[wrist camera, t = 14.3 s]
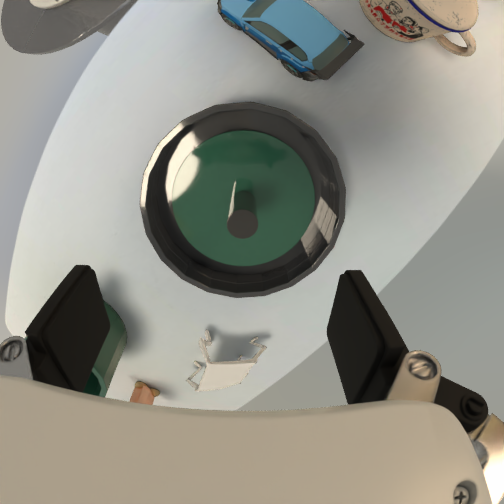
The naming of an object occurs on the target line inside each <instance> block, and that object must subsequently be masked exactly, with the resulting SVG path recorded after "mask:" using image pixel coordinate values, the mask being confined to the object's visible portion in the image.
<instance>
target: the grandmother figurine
mask: <svg viewBox="0 0 504 504" xmlns="http://www.w3.org/2000/svg"><path fill="white" fill-rule="evenodd" d="M159 394H160V392H159V391H158V390H156V389H149V388H148V387H147V385H146V384H145V383H143V382H140V381H138V382H136V384H135V388H134V391H133V393H132V396H131V398H130V402H134V403H141V404H148V405H152V404H153V401H154V397H156V396H158V395H159Z"/></svg>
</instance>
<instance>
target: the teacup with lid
mask: <svg viewBox="0 0 504 504" xmlns="http://www.w3.org/2000/svg"><path fill="white" fill-rule="evenodd" d="M359 1H360V5H361V7H362V9H363V11H364V13H365V15H366V16H367V18H368V19H369V20H370V22H371V23H372V24H373V25H374V26H375V27H376V28H378V29H379V30H380V31H381V32H383V33H384V34H386V35H387V36H389V37H391V38H393V39H396V40H399V41H403V42H415V41H419V40H422V39H426V38H429V37H434V38H435V39H436V40H437V42H438V43H439V44H440V45H442V46H443V47H444V48H445V49H447V50H448V51H450V52H452V53H454V54H456V55H459V56H471V55H472V54H473V53H474V52H475V50H476V43H475V40H474V38H473V36H472V35H471V33H470V32H469V31H468V30H469V29H471V28H472V27H473V26H474V24H475V23H476V21H477V17H478V4H477V0H359ZM449 32H458V33H459V34H460V35H461V36H462V38H463V39H464V41H465V42H466V44H467V47H461V46H458V45H456V44H454V43H452V42H450V41H449V40H448V39H447V38H446V37H445V36H444V35H443V34H445V33H449Z"/></svg>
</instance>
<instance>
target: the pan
mask: <svg viewBox="0 0 504 504" xmlns="http://www.w3.org/2000/svg"><path fill="white" fill-rule="evenodd" d="M235 130H251V131H258V132H262V133H266V134H269V135H271V136H274V137H276V138H278V139H279V140H281V141H283V142H284V143H286V144H287V145H288V146H290V147H291V148H292V149H293V150H294V151H295V152H296V153H297V154H298V155H299V156H300V157H301V159H302V160H303V161H304V163H305V165H306V166H307V168H308V170H309V172H310V175H311V178H312V181H313V185H314V192H315V206H314V211H313V216H312V219H311V222H310V224H309V226H308V228H307V230H306V232H305V233H304V235H303V236H302V238H301V239H300V240H299V241H298V243H297V244H296V245H295V246H294V247H293V248H291V249H290V250H289V251H288V252H286V253H285V254H283V255H282V256H280V257H278V258H276V259H274V260H272V261H269V262H267V263H263V264H259V265H253V266H234V265H228V264H224V263H221V262H218V261H215V260H213V259H211V258H209V257H207V256H205V255H204V254H202V253H201V252H199V251H198V250H197V249H195V248H194V247H193V246H192V245H191V244H190V243H189V242H188V240H187V239H186V238H185V237H184V235H183V234H182V232H181V230H180V228H179V227H178V224H177V222H176V219H175V216H174V212H173V205H172V191H173V184H174V181H175V177H176V175H177V172H178V170H179V168H180V166H181V165H182V163H183V161H184V160H185V158H186V157H187V156H188V155H189V154H190V153H191V152H192V151H193V150H194V149H195V148H196V147H197V146H198V145H200V144H201V143H203V142H204V141H206V140H207V139H209V138H211V137H213V136H216V135H218V134H221V133H224V132H229V131H235ZM345 188H346V187H345V184H344V180H343V177H342V174H341V171H340V167H339V164H338V161H337V158H336V156H335V155H334V154H333V152H332V151H331V149H330V148H329V147H328V145H327V144H326V143H325V141H324V140H323V139H322V137H321V136H320V135H319V133H318V132H317V131H316V130H315V129H313V128H312V127H311V126H309V125H308V124H306V123H305V122H303V121H302V120H300V119H299V118H297V117H296V116H294V115H293V114H291V113H290V112H288V111H286V110H282V109H278V108H275V107H271V106H267V105H263V104H259V103H255V102H243V103H231V104H221V105H214V106H212V107H210V108H207V109H205V110H203V111H201V112H199V113H196V114H194V115H192V116H190V117H188V118H186V119H184V120H182V121H181V122H180V123H179V124H178V125H177V126H176V127H175V128H174V129H173V130H172V131H170V132H169V133H168V134H167V135H166V136H165V137H164V138H163V139H162V140H161V141H160V142H159V143H158V145H157V147H156V149H155V151H154V153H153V155H152V157H151V159H150V161H149V163H148V165H147V167H146V169H145V171H144V174H143V180H142V188H141V197H140V209H141V213H142V218H143V223H144V227H145V232H146V235H147V237H148V238H149V240H150V242H151V244H152V245H153V247H154V249H155V251H156V252H157V254H158V256H159V257H160V259H161V260H162V261H163V262H164V263H165V264H166V265H167V266H168V267H169V268H170V269H171V270H172V271H174V272H175V273H176V274H177V275H178V276H179V277H180V278H181V279H183V280H185V281H187V282H188V283H190V284H192V285H194V286H196V287H198V288H200V289H202V290H204V291H206V292H209V293H214V294H219V295H224V296H229V297H234V298H242V297H257V296H266V295H269V294H272V293H275V292H278V291H280V290H283V289H286V288H289V287H292V286H293V285H295V284H296V283H298V282H299V281H301V280H302V279H303V278H305V277H306V276H308V275H309V274H311V273H312V272H313V271H315V270H316V269H317V268H318V267H319V265H320V264H321V263H322V262H323V260H324V259H325V258H326V257H327V255H328V254H329V253H330V251H331V250H332V249H333V248H334V245H335V243H336V240H337V238H338V235H339V233H340V230H341V227H342V225H343V222H344V219H345V198H346V189H345Z"/></svg>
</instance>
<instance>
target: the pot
mask: <svg viewBox="0 0 504 504" xmlns="http://www.w3.org/2000/svg"><path fill="white" fill-rule="evenodd" d="M103 302H104V305H105V308H106V311H107V314H108V317H109V320H110V330H109V333H108V335H107V337H106V339H105V341H104V344H103V346H102V348H101V350H100V353H99V355H98V357H97V359H96V362H95V364H94V367H93V369H92V371H91V374H90V376H89V379H88V381H87V383H86V386H85V389H84V391H83V393H86V394H90V395H95V396H100V397H105V396H106V393H107V391H108V388H109V385H110V383H111V380H112V377H113V375H114V372H115V370H116V367H117V365H118V362H119V360H120V357H121V355H122V352H123V350H124V348H125V345H126V343H127V332H126V329H125V326H124V324H123V322H122V320H121V318H120V317H119V315H118V314H117V313H116V312H115V310H114V309H113V308H112V307H111V306H110V305H108V304H107V303H106V302H105V301H104V300H103ZM26 339H27V336H26V337H25V341H26Z"/></svg>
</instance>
